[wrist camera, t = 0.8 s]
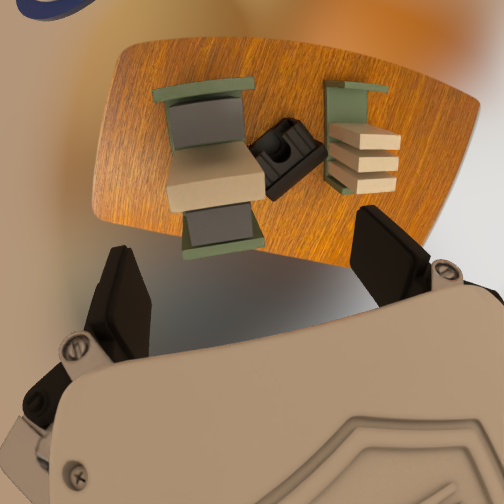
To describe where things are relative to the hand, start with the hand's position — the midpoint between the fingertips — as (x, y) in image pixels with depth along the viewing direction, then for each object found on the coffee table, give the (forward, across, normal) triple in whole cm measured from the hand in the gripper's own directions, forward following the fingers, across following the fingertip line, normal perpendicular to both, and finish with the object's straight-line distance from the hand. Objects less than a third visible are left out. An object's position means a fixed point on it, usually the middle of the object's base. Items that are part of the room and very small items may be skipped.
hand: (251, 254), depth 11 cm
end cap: (+30, -10, +5) cm, 32 cm away
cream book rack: (+30, -21, +2) cm, 37 cm away
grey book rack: (+30, 0, +1) cm, 30 cm away
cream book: (+17, +1, 0) cm, 17 cm away
